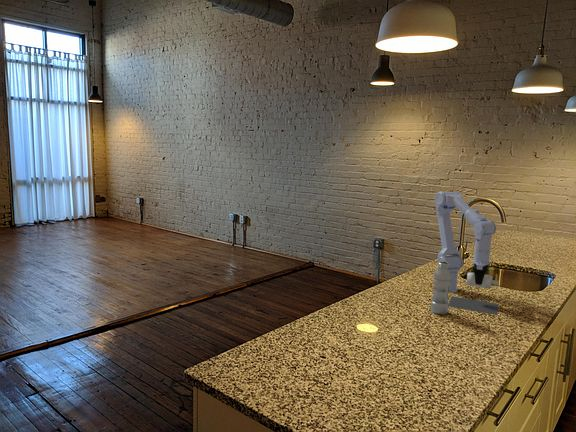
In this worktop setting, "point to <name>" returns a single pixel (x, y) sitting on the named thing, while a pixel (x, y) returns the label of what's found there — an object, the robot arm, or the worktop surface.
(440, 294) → the plastic bottle
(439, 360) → the worktop surface
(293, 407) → the worktop surface
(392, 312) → the worktop surface
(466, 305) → the rubber mat
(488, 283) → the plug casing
